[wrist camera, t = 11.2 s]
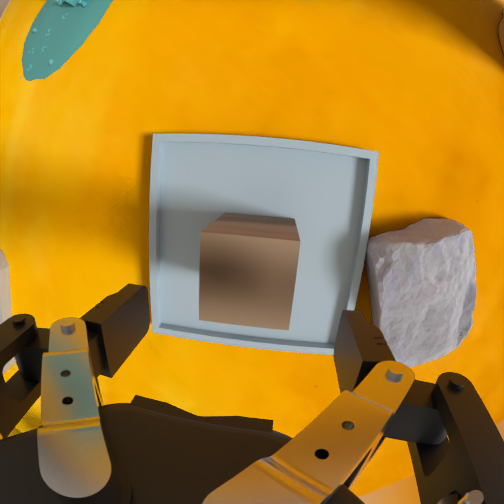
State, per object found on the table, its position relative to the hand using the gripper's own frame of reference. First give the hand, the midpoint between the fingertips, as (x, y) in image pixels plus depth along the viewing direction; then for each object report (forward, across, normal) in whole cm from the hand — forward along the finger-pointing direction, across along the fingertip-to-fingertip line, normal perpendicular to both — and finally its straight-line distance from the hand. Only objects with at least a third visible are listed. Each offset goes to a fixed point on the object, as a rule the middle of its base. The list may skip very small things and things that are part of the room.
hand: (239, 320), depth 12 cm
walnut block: (+11, 0, 0) cm, 11 cm away
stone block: (+12, -14, +2) cm, 19 cm away
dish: (+12, 0, 0) cm, 12 cm away
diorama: (+12, +21, -23) cm, 33 cm away
